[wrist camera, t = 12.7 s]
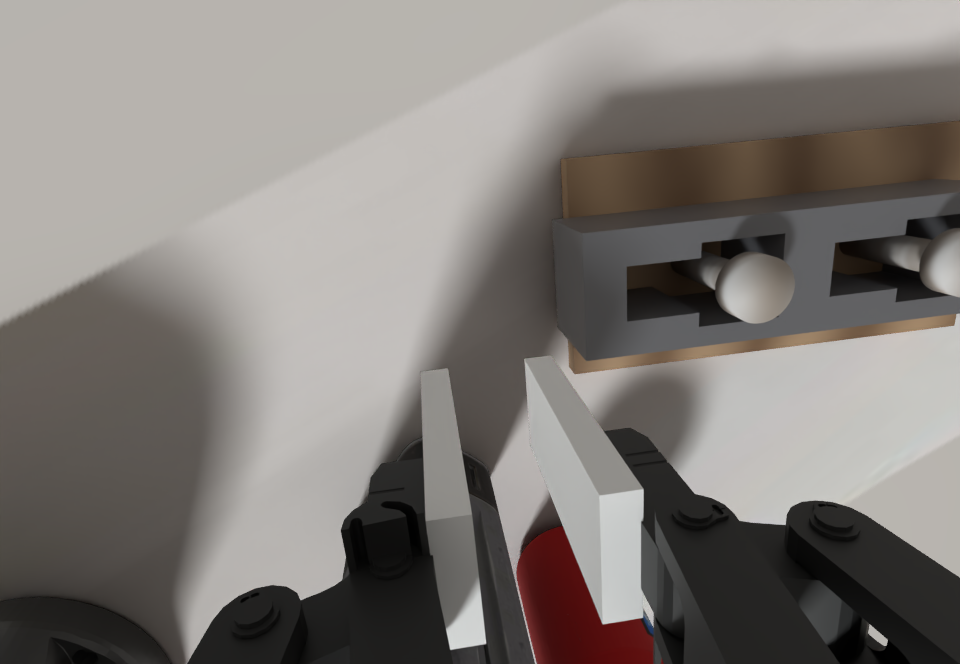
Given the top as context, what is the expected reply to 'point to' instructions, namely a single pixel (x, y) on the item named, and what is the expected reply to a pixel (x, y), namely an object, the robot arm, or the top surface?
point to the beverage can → (573, 611)
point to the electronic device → (488, 574)
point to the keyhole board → (763, 173)
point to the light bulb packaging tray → (741, 228)
